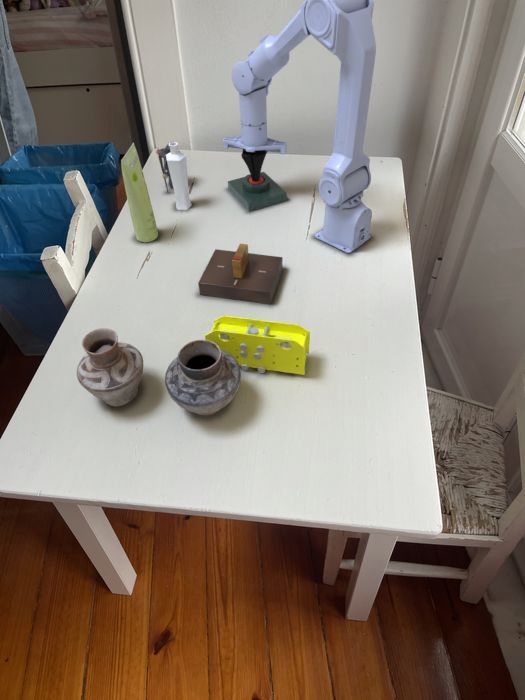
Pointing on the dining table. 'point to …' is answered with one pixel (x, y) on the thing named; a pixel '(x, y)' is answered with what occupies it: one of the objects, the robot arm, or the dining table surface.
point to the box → (256, 192)
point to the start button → (256, 182)
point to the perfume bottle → (179, 176)
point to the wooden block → (240, 261)
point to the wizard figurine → (165, 164)
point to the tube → (138, 197)
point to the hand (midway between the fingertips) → (256, 179)
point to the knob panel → (252, 285)
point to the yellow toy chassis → (262, 343)
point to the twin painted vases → (181, 376)
